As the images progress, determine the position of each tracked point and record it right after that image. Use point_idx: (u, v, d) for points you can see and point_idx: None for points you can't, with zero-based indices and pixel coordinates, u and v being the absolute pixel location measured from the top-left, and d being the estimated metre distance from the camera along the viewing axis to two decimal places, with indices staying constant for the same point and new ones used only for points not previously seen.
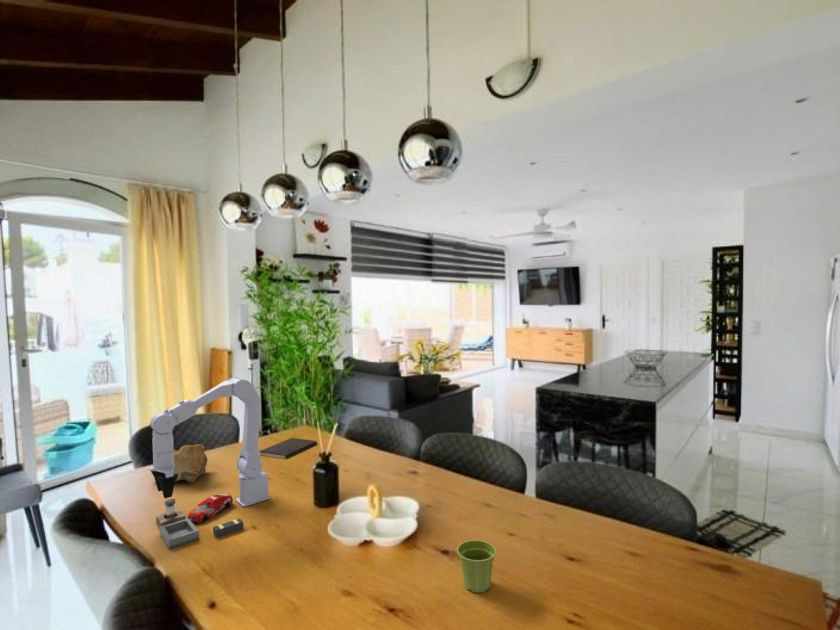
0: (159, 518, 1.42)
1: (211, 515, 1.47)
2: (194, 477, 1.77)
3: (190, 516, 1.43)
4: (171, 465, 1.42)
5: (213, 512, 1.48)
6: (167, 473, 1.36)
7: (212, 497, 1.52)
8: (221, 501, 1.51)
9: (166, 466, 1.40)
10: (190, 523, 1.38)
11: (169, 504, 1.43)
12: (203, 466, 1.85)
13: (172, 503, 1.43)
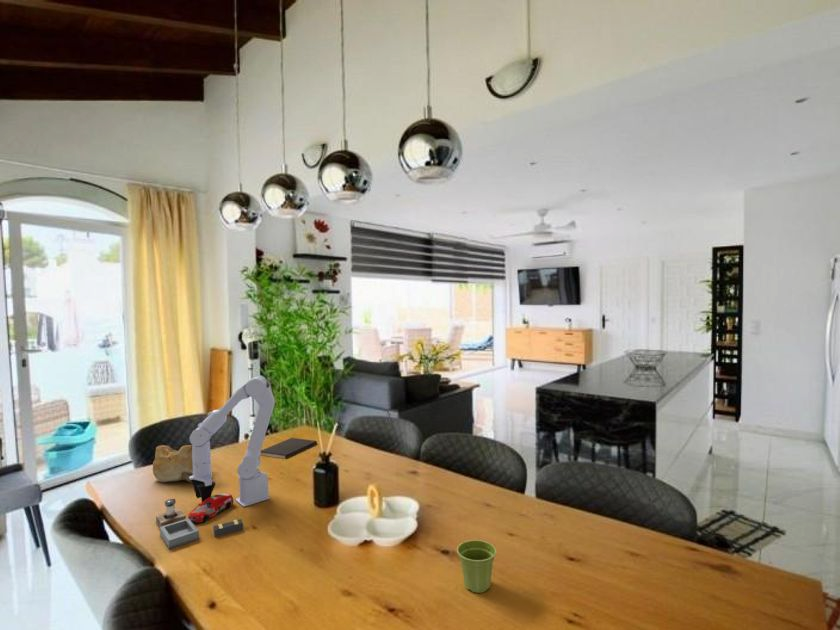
0: (159, 518, 1.42)
1: (212, 515, 1.47)
2: None
3: (191, 516, 1.43)
4: (209, 474, 1.55)
5: (214, 512, 1.47)
6: (206, 482, 1.50)
7: (213, 497, 1.52)
8: (221, 501, 1.51)
9: (204, 475, 1.54)
10: (190, 523, 1.38)
11: (169, 504, 1.43)
12: None
13: (172, 503, 1.43)
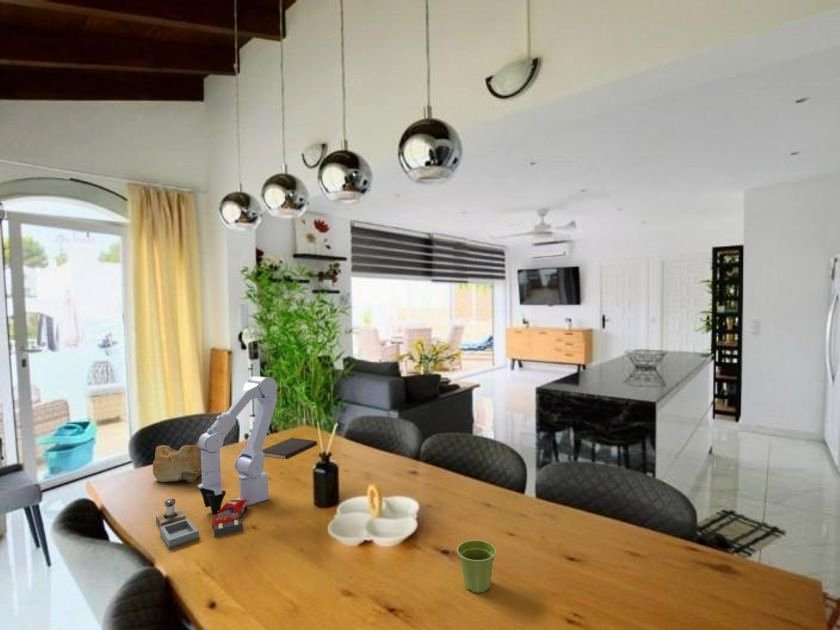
0: (159, 518, 1.42)
1: None
2: (194, 477, 1.77)
3: (217, 523, 1.38)
4: (218, 482, 1.48)
5: (237, 517, 1.44)
6: (216, 491, 1.43)
7: (230, 502, 1.47)
8: (240, 505, 1.48)
9: (214, 484, 1.46)
10: (190, 523, 1.38)
11: (169, 504, 1.43)
12: None
13: (172, 503, 1.43)
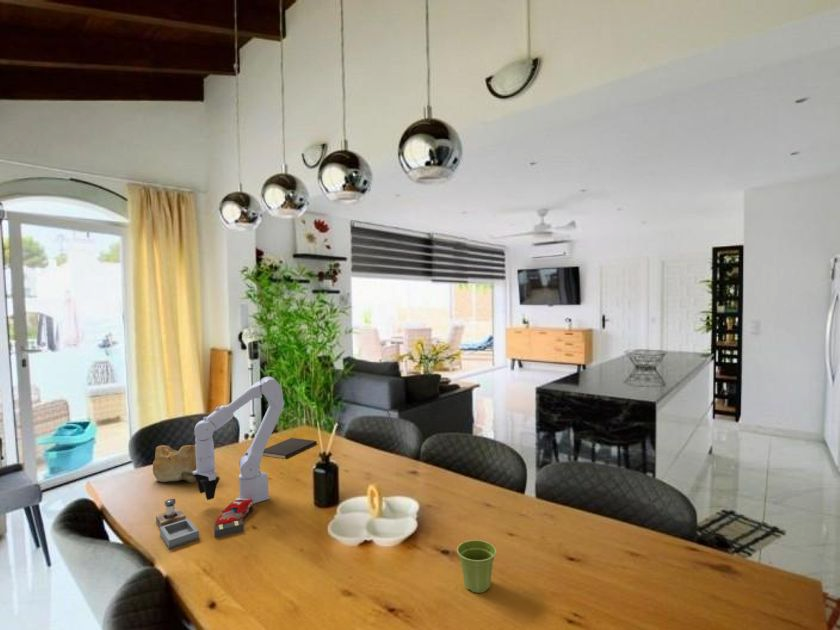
0: (159, 518, 1.42)
1: (239, 520, 1.43)
2: (194, 477, 1.77)
3: (220, 523, 1.38)
4: (212, 469, 1.52)
5: (241, 517, 1.44)
6: (210, 476, 1.47)
7: (235, 502, 1.47)
8: (245, 506, 1.48)
9: (208, 470, 1.51)
10: (190, 523, 1.38)
11: (169, 504, 1.43)
12: None
13: (172, 503, 1.43)
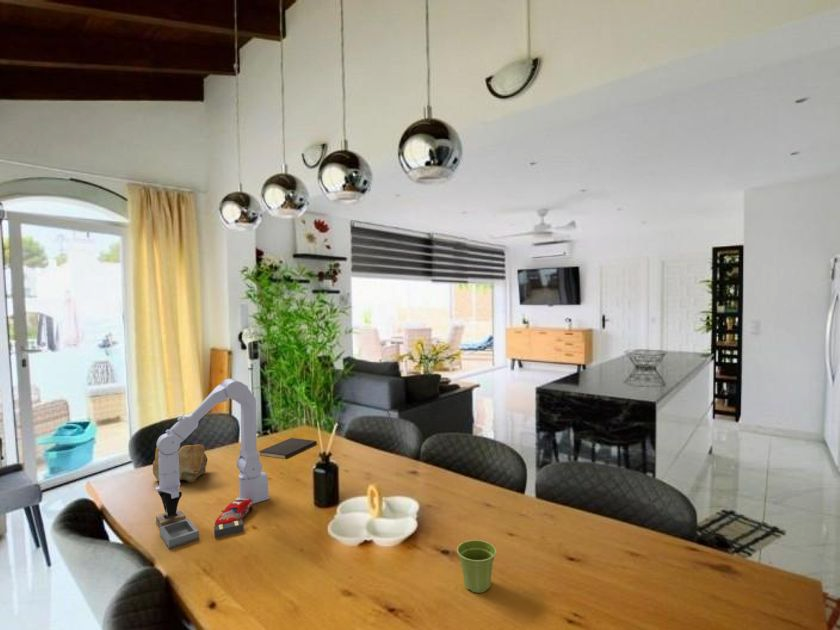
0: (159, 518, 1.42)
1: (239, 520, 1.43)
2: (194, 477, 1.77)
3: (220, 523, 1.38)
4: (177, 485, 1.43)
5: (240, 517, 1.44)
6: (173, 494, 1.38)
7: (235, 502, 1.47)
8: (245, 505, 1.48)
9: (172, 486, 1.42)
10: (190, 523, 1.38)
11: None
12: (203, 466, 1.85)
13: None
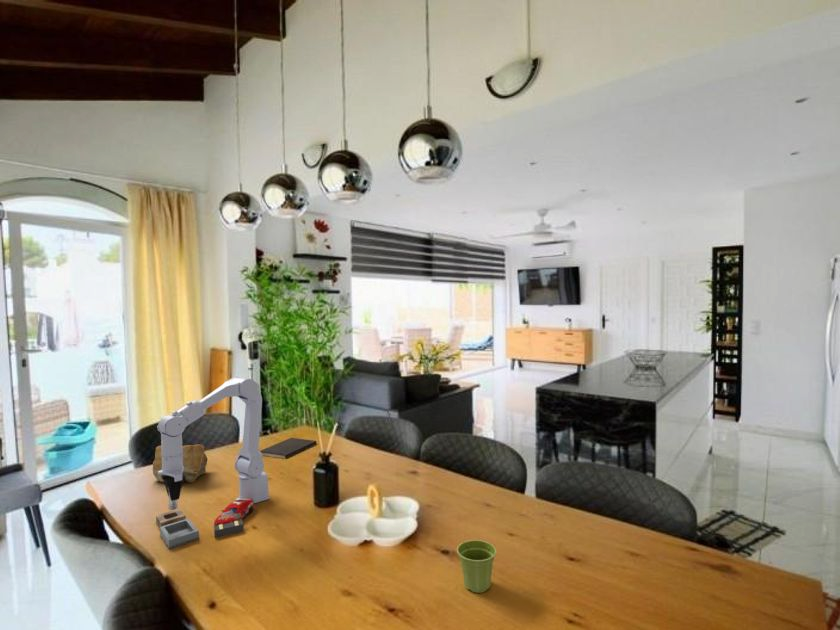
0: (159, 518, 1.42)
1: (238, 520, 1.43)
2: (194, 477, 1.77)
3: (219, 523, 1.38)
4: (180, 469, 1.38)
5: (240, 517, 1.43)
6: (176, 477, 1.33)
7: (235, 502, 1.47)
8: (245, 506, 1.47)
9: (175, 470, 1.37)
10: (190, 523, 1.38)
11: None
12: (203, 466, 1.85)
13: None
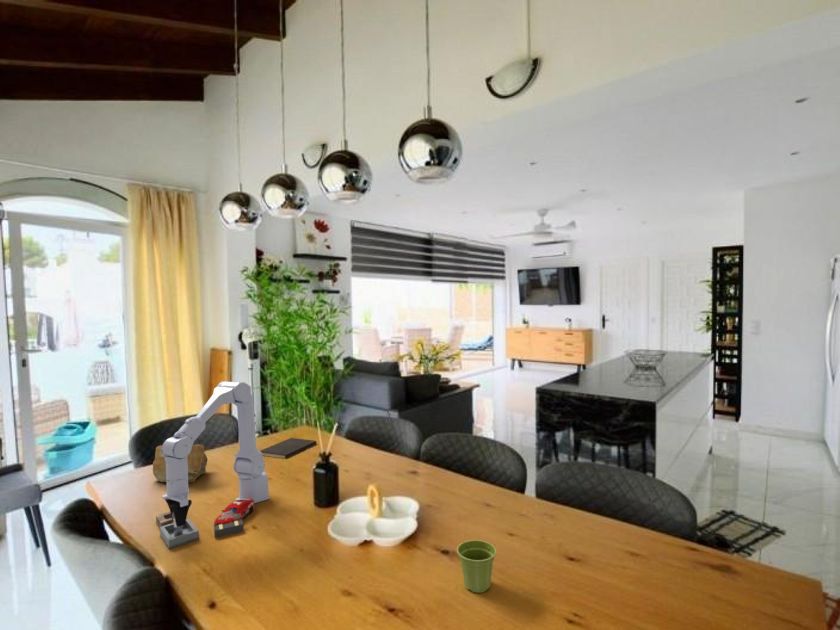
0: (159, 518, 1.42)
1: (238, 520, 1.43)
2: (194, 477, 1.77)
3: (218, 523, 1.38)
4: (185, 492, 1.34)
5: (240, 517, 1.43)
6: (182, 502, 1.29)
7: (236, 502, 1.47)
8: (245, 506, 1.47)
9: (180, 494, 1.32)
10: (190, 523, 1.38)
11: None
12: (203, 466, 1.85)
13: None
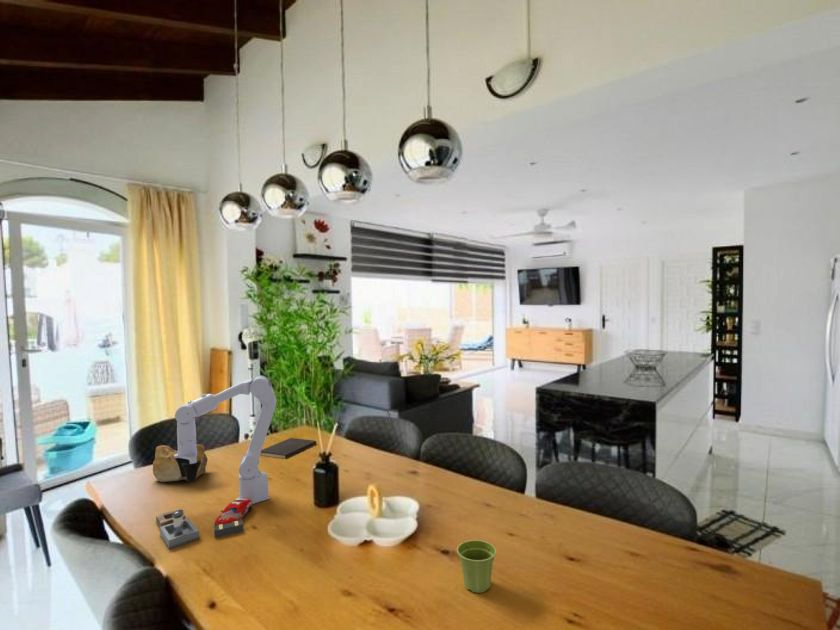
0: (159, 518, 1.42)
1: (239, 520, 1.43)
2: None
3: (220, 523, 1.38)
4: (194, 452, 1.52)
5: (240, 517, 1.44)
6: (191, 459, 1.47)
7: (234, 502, 1.47)
8: (244, 506, 1.48)
9: (189, 453, 1.51)
10: (190, 523, 1.38)
11: (177, 515, 1.33)
12: (203, 466, 1.85)
13: (180, 514, 1.34)
